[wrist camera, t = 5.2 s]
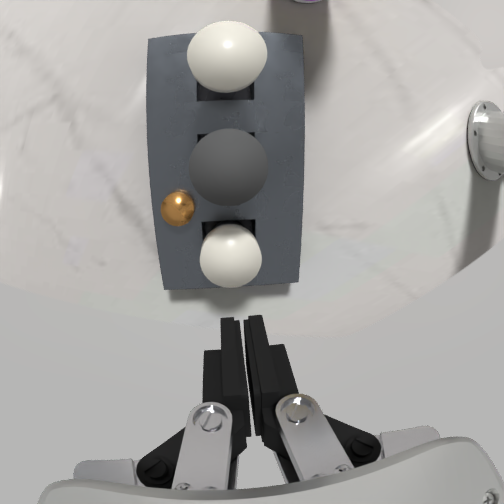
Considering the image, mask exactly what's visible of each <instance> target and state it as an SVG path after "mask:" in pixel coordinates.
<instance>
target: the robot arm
mask: <svg viewBox="0 0 504 504" xmlns="http://www.w3.org/2000/svg"><path fill="white" fill-rule="evenodd" d="M468 144H469V150H470V154H471V158H472V161H473V164H474V166H475V168H476V170H477V171H478V173H479V174H480V175H481V176H482V177H483V178H485V179H488V180H492V181H494V180H497V179H499V178H500V177H501V176H502V175H503V174H504V112H501V110H500V109H499V108H498V107H497V105H495V104H494V103H493V102H490V101H480V102H478V103H476V105H475V106H474V107H473V109H472V111H471V114H470V118H469V123H468ZM244 336H245V353H246V366H247V376H248V383H249V391H250V398H251V405H252V412H253V419H254V427H255V434H256V436H260V435H261V438H262V442H264V446H266V447H268V448H269V449H271V450H273V452H274V456H275V458H276V461H277V463H278V466H279V468H280V470H281V473H282V476H283V478H284V481H285V483H286V484H283V485H276V486H270V487H260V488H251V489H236V486H237V475H238V464H239V454H240V453H242V452H243V451H244V450H245V449H246V448H247V443H246V437H250V436H251V425H250V410H249V397H248V388H247V380H246V372H245V365H244V356H243V347H242V339H241V330H240V322H239V320H236V321H234V317H229V318H221V350H207V351H206V350H205V351H204V367H203V369H204V370H203V403H202V404H199V405H197V406H196V407H194V408H193V409H192V411H191V412H190V414H189V416H188V420H187V424H186V427H185V428H183V429H182V430H181V431H179V432H178V433H177V434H175V435H174V436H172V437H171V438H170V439H168V440H167V441H166V442H164V443H163V444H161V445H160V446H159V447H157V448H156V449H154V450H153V451H151V452H150V453H149V454H147V455H146V456H144V457H143V458H142V459H141V460H134V461H133V460H132V459H120V460H87V461H82V462H80V463H79V464H77V466H76V467H75V469H74V479H69V480H61V481H58V482H54V483H52V484H50V485H48V486H47V487H46V488H45V490H44V491H43V492H42V494H41V496H40V499H39V501H38V504H504V482H503V480H502V478H501V476H500V474H499V472H498V471H497V469H496V467H495V465H494V464H493V462H492V460H491V459H490V457H489V456H488V454H487V453H486V452H485V451H484V449H483V448H482V447H481V446H480V445H479V444H478V443H477V442H476V441H474V440H473V439H470V438H467V437H447V438H441V439H440V435H439V433H438V431H437V430H436V429H434V428H433V427H430V426H421V427H415V428H410V429H404V430H398V431H391V432H383V433H381V434H380V435H375V436H374V435H372V434H370V433H368V432H365V431H362V430H360V429H357V428H355V427H352V426H350V425H347V424H345V423H343V422H340V421H338V420H336V419H333V418H331V417H329V416H327V415H324V414H323V412H322V411H321V409H320V407H319V405H318V403H317V402H316V401H315V400H314V399H313V398H311V397H310V396H307V395H304V394H299V392H298V389H297V386H296V383H295V379H294V376H293V373H292V369H291V366H290V362H289V359H288V356H287V352H286V349H285V346H284V344H279V345H269V343H268V339H267V335H266V330H265V326H264V322H263V318H262V315H254V316H248V320H244Z"/></svg>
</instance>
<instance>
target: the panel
mask: <svg viewBox="0 0 504 504" xmlns="http://www.w3.org/2000/svg"><path fill="white" fill-rule="evenodd" d="M258 33H259V34H260V35H261V36H262V38H263V40H264V42H265V44H266V47H267V60H266V63H265V66H264V68H263V69H262V71H261V73H260V74H259V76H258V77H257V79H256V80H255V81H254V82H253V83H252V84H250V85H249V86H247V87H246V88H244V89H242V90H239V91H235V92H229V93H221V92H216V91H212V90H209V89H207V88H205V87H204V86H202V85H201V84H200V83H199V82H198V81H197V80H196V79H195V77H194V76H193V74H192V71H191V69H190V67H189V64H188V60H187V50H188V46H189V44H190V42H191V40H192V38H193V37H194V36H195V35H196V34H197V33H190V34H180V35H172V36H164V37H157V38H151V39H148V54H147V84H146V112H147V144H148V162H149V176H150V188H151V199H152V208H153V217H154V226H155V234H156V241H157V248H158V255H159V262H160V268H161V274H162V280H163V286H164V290H172V289H196V288H217V287H221V286H218V285H216V284H214V283H212V282H211V281H210V280H208V279H207V277H206V276H205V275H204V273H203V271H202V269H201V266H200V254H201V248H202V243H203V241H204V239H205V237H206V236H207V234H208V233H209V232H210V231H212V230H213V229H214V227H215V226H216V225H217V224H218V223H220V222H221V221H225V220H233V221H236V222H238V223H240V224H241V225H242V226H243V227H244V228H246V229H248V230H249V231H250V232H251V233H252V234H253V235H254V236H255V238H256V240H257V243H258V245H259V248H260V251H261V255H262V263H261V267H260V270H259V272H258V274H257V275H256V276H255V277H254V278H253V279H252V280H251V281H250V282H248V283H247V284H245V285H243V286H252V285H267V284H282V283H295V282H298V281H299V267H300V252H301V235H302V215H303V189H304V144H305V102H304V60H303V37H302V35H294V34H283V33H270V32H258ZM220 129H238V130H241V131H244V132H246V133H249V134H250V135H252V136H253V137H254V138H256V139H257V140H258V141H259V143H260V144H261V145H262V147H263V148H264V150H265V152H266V155H267V159H268V175H267V178H266V181H265V183H264V185H263V187H262V189H261V190H260V191H259V192H258V194H257V195H255V196H254V197H253V198H252V199H250V200H249V201H247V202H245V203H242V204H240V205H235V206H220V205H216V204H213V203H211V202H209V201H207V200H206V199H204V198H203V197H202V196H201V195H200V194H199V193H198V192H197V191H196V190H195V188H194V186H193V185H192V182H191V180H190V176H189V160H190V156H191V154H192V151H193V149H194V148H195V146H196V145H197V144H198V142H199V141H200V140H201V139H202V138H204V137H205V136H206V135H208V134H210V133H212V132H214V131H217V130H220Z"/></svg>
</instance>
